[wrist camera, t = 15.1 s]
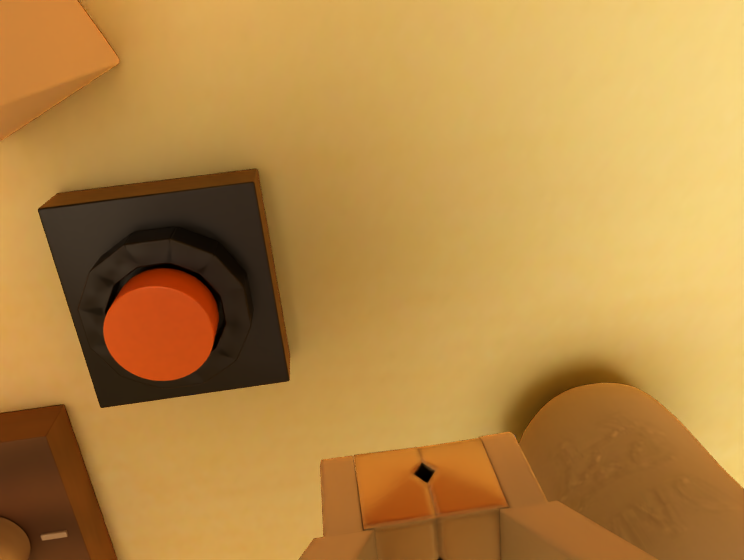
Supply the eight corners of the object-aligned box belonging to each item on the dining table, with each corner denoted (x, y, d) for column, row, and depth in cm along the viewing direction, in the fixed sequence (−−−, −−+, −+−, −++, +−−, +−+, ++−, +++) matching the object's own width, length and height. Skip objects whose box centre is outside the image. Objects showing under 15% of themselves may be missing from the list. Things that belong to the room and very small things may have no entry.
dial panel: (122, 572, 43) (109, 614, 40) (-37, 597, 42) (-62, 641, 39) (64, 404, 37) (44, 438, 34) (-118, 430, 37) (-154, 466, 34)
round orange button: (227, 351, 33) (223, 373, 31) (129, 364, 32) (118, 388, 30) (208, 261, 31) (202, 279, 29) (103, 274, 30) (90, 294, 28)
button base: (290, 356, 38) (289, 400, 34) (113, 381, 37) (90, 429, 33) (257, 167, 33) (252, 191, 29) (56, 193, 33) (21, 220, 29)
